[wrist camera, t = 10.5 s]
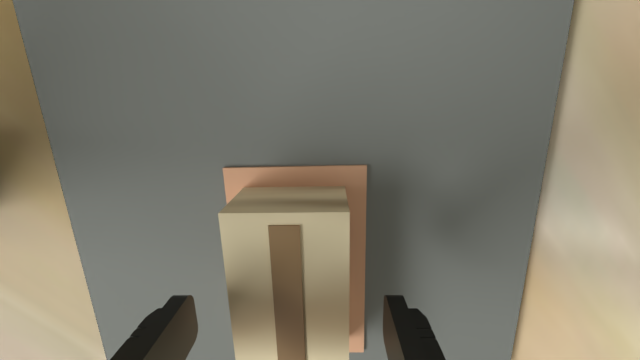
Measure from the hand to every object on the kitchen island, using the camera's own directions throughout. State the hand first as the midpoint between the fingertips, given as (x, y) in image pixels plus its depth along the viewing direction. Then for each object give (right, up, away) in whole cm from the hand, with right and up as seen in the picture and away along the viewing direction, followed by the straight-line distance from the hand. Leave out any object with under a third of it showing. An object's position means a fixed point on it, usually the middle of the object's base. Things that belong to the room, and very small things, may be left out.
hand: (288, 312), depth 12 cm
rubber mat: (0, +5, +3) cm, 6 cm away
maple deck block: (0, +1, +3) cm, 4 cm away
